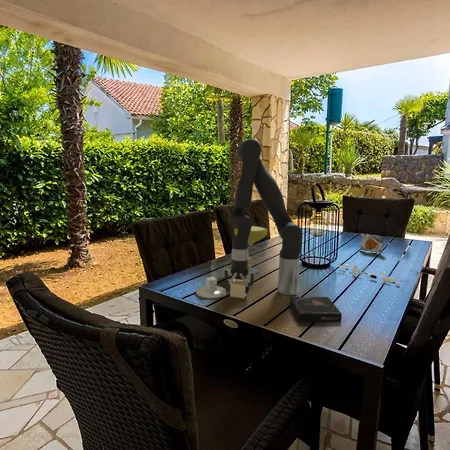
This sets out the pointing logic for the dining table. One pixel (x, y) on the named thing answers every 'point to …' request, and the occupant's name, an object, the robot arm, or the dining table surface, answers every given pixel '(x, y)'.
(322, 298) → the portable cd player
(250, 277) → the supplement box
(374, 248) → the meal
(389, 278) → the miniature set
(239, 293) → the collar
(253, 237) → the cocktail glass
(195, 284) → the dining table surface
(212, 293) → the duct stub
